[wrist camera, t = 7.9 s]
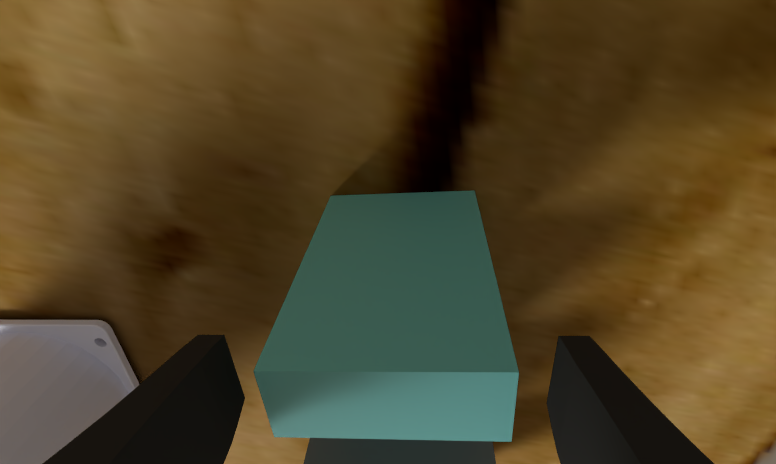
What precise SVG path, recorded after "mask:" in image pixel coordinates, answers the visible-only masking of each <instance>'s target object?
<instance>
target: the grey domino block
mask: <svg viewBox="0 0 776 464" xmlns="http://www.w3.org/2000/svg"><path fill="white" fill-rule="evenodd" d="M304 464H496V461H495V455H494V448H493V441H446V440H397V439H348V438H310V440H309V444H308V448H307V452H306V456H305V460H304Z"/></svg>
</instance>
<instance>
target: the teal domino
mask: <svg viewBox="0 0 776 464" xmlns="http://www.w3.org/2000/svg"><path fill="white" fill-rule="evenodd" d="M254 375H255V378H256V381H257V384H258V387H259V390H260V393H261V397H262V400H263V403H264V406H265V409H266V412H267V415H268V419H269V422H270V425H271V428H272V431H273V434H274V437H300V438H348V439H397V440H446V441H495V442H512V432H513V423H514V414H515V405H516V395H517V386H518V377H519V371H518V366H517V362H516V358H515V354H514V350H513V346H512V342H511V338H510V334H509V330H508V326H507V321H506V317H505V313H504V309H503V305H502V301H501V297H500V293H499V289H498V285H497V280H496V276H495V272H494V268H493V264H492V260H491V256H490V252H489V248H488V244H487V240H486V235H485V231H484V227H483V223H482V219H481V215H480V211H479V207H478V203H477V199H476V195H475V190H474V191H446V192H419V193H391V194H363V195H335V196H330V199H329V201H328V203H327V206H326V208H325V210H324V212H323V215H322V217H321V219H320V221H319V224H318V226H317V228H316V230H315V233H314V235H313V237H312V240H311V242H310V244H309V246H308V249H307V251H306V253H305V255H304V258H303V260H302V262H301V264H300V267H299V269H298V271H297V274H296V276H295V278H294V280H293V283H292V285H291V287H290V289H289V292H288V294H287V296H286V299H285V301H284V303H283V305H282V308H281V310H280V312H279V314H278V317H277V319H276V321H275V323H274V326H273V328H272V330H271V333H270V335H269V337H268V339H267V342H266V344H265V346H264V348H263V351H262V353H261V355H260V357H259V360H258V362H257V364H256V367H255V369H254Z"/></svg>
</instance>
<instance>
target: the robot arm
mask: <svg viewBox="0 0 776 464" xmlns="http://www.w3.org/2000/svg"><path fill="white" fill-rule="evenodd" d="M244 399H245V397H244V394H243V391H242V388H241V384H240V381H239V378H238V375H237V372H236V369H235V366H234V363H233V360H232V357H231V354H230V351H229V348H228V345H227V342H226V339H225V336H224V335H197V336H196V337H195V338H194V339H192V340H191V341H190V342H189V343H188V344H186V345H185V346H184V347H183V348H182V349H180V350H179V351H178V352H177V353H176V354H175V355H173V356H172V357H171V358H170V359H169V360H168V361H166V362H165V363H164V364H163V365H162V366H161V367H160V368H158V369H157V370H156V371H155V372H154V373H153V374H151V375H150V376H149V377H148V378H147V379H146V380H145V381H143V382H142V383H141V384H139V382H138V380H137V378H136V376H135V374H134V372H133V370H132V368H131V366H130V364H129V362H128V360H127V358H126V356H125V354H124V352H123V350H122V348H121V346H120V344H119V342H118V340H117V338H116V336H115V334H114V332H113V330H112V328H111V326H110V325H109V324H108V323H106V322H104V321H102V320H0V464H223V463H224V461H225V459H226V456H227V454H228V451H229V449H230V446H231V444H232V441H233V438H234V434H235V431H236V428H237V425H238V421H239V418H240V414H241V410H242V407H243V403H244ZM547 407H548V412H549V417H550V422H551V427H552V431H553V436H554V440H555V445H556V449H557V453H558V456H559V460H560V463H561V464H714V463H713V462H712V461H711V460H710V459H709V458H708V457H706V456H705V455H704V454H703V453H702V452H701V451H700V450H699V449H698V448H697V447H696V446H695V445H694V444H693V443H692V442H691V441H690V440H689V439H688V438H687V437H686V436H685V435H684V434H683V433H682V432H681V431H680V430H679V429H678V428H677V427H676V426H675V425H674V424H673V423H672V422H671V421H670V420H669V419H668V418H667V417H666V416H665V415H664V414H663V413H662V412H661V411H660V410H659V409H658V408H657V407H656V406H655V405H654V404H653V403H652V402H651V401H650V400H649V399H648V398H647V397H646V396H645V395H644V394H643V393H642V392H641V391H640V390H639V389H638V387H637V386H636V385H635V384H634V383H633V382H632V381H631V380H630V379H629V378H628V377H627V376H626V375H625V374H624V373H623V372H622V370H621V369H620V368H619V367H618V366H617V365H616V364H615V363H614V362H613V361H612V360H611V359H610V357H609V356H608V355H607V354H606V353H605V352H604V351H603V350H602V349H601V348H600V347H599V346H598V345H597V343H596V342H595V341H594V340H593V339H592V338H591V337H590V336H559V337H558V342H557V348H556V353H555V359H554V365H553V370H552V376H551V381H550V387H549V392H548V398H547Z"/></svg>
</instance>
